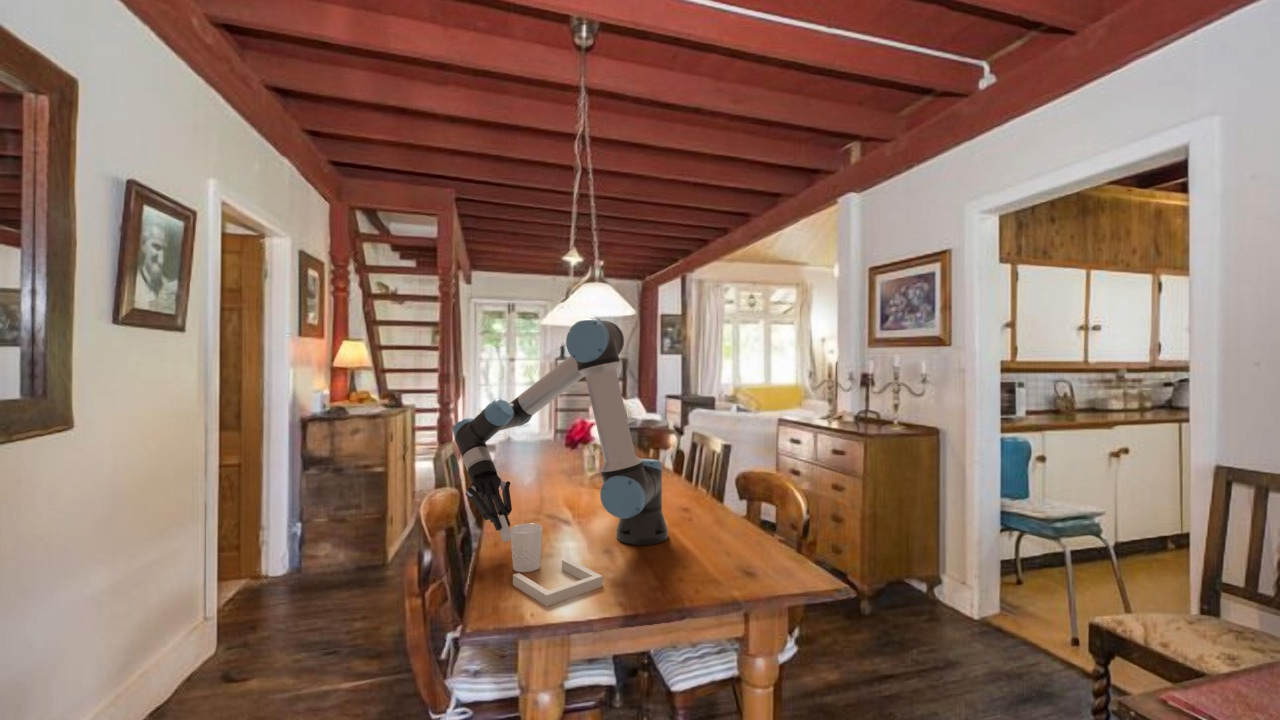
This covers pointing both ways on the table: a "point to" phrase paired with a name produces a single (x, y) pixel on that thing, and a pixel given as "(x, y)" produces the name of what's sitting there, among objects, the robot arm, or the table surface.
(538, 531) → the white cup
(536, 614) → the table surface
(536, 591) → the bay
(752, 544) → the table surface
